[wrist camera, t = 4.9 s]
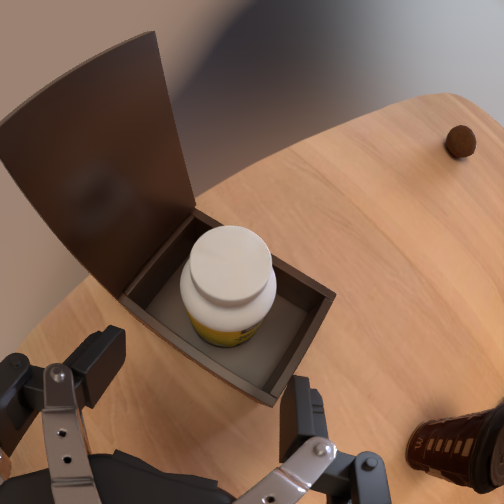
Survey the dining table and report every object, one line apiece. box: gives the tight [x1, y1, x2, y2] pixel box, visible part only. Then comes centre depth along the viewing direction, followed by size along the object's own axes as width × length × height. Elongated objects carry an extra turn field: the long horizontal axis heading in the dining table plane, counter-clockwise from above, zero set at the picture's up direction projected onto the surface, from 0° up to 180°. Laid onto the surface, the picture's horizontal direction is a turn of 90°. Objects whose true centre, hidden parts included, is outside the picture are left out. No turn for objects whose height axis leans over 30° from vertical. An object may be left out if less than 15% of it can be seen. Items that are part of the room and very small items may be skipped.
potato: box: [446, 125, 476, 157], centre depth 44 cm, size 7×10×7 cm
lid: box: [0, 31, 196, 298], centre depth 16 cm, size 16×11×1 cm
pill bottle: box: [180, 225, 276, 348], centre depth 21 cm, size 6×6×12 cm
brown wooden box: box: [115, 208, 336, 408], centre depth 24 cm, size 15×11×6 cm
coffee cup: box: [406, 403, 504, 494], centre depth 16 cm, size 9×8×13 cm
